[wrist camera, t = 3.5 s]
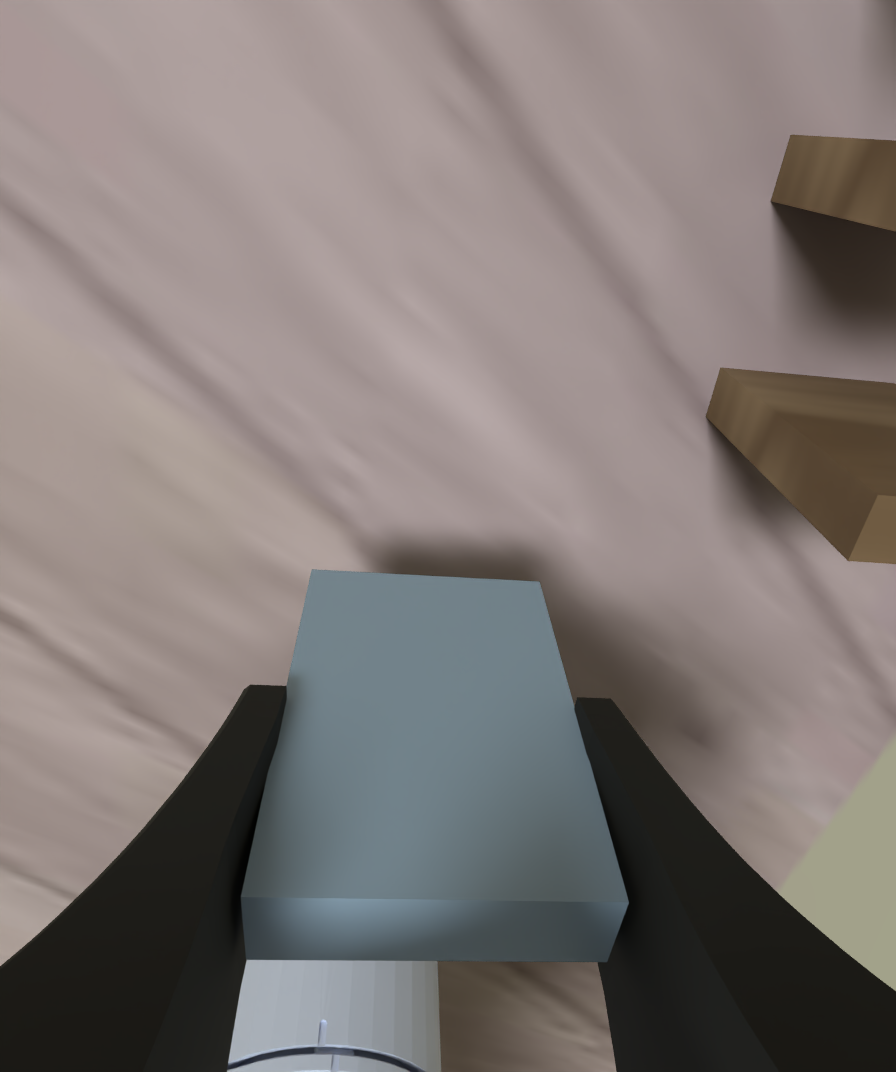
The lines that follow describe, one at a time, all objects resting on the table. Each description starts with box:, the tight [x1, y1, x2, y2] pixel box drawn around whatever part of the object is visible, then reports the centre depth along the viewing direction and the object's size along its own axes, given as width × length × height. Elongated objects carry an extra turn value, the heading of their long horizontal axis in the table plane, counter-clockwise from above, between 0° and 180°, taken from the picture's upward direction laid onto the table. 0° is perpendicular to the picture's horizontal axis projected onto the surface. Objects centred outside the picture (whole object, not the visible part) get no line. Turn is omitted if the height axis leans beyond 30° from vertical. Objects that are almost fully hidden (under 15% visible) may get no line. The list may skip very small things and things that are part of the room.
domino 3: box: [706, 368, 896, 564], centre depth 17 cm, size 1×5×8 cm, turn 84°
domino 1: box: [241, 570, 629, 962], centre depth 13 cm, size 1×5×8 cm, turn 85°
